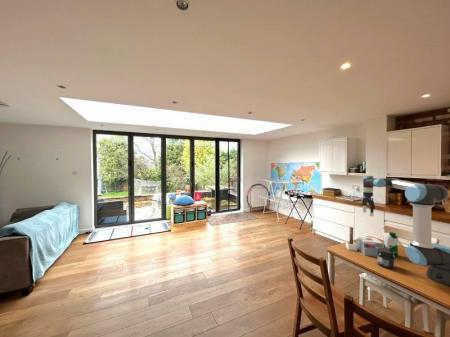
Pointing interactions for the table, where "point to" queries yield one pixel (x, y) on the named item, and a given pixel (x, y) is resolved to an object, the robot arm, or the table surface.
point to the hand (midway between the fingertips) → (367, 214)
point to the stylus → (351, 235)
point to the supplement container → (386, 258)
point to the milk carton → (391, 242)
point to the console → (369, 250)
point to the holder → (351, 246)
